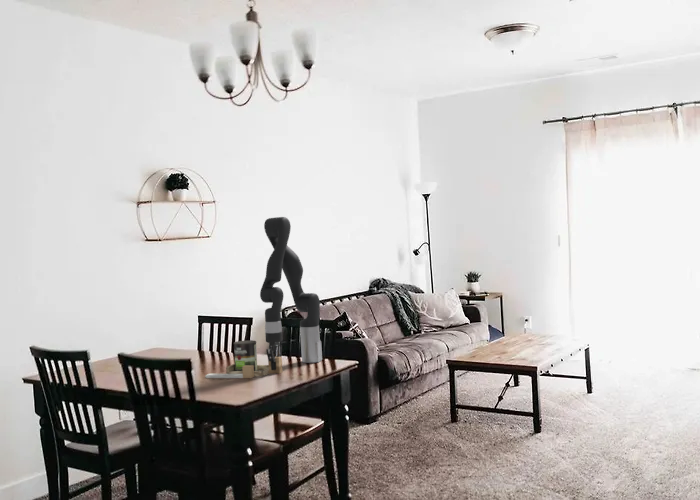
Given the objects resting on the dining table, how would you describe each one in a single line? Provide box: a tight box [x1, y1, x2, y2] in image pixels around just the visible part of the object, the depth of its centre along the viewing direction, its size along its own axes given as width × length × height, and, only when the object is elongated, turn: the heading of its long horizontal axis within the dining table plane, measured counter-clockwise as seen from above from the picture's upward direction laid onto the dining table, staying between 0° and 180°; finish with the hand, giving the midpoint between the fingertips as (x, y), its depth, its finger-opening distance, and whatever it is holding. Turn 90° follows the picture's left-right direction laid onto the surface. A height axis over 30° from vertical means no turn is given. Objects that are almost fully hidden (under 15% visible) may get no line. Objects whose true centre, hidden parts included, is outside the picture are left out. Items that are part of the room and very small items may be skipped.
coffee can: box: [233, 339, 258, 371], centre depth 305 cm, size 10×10×14 cm
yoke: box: [225, 357, 283, 377], centre depth 303 cm, size 23×15×7 cm, turn 75°
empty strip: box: [205, 365, 255, 379], centre depth 296 cm, size 22×4×5 cm, turn 75°
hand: (275, 369), depth 301 cm, fingers closed on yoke, 3 cm apart
